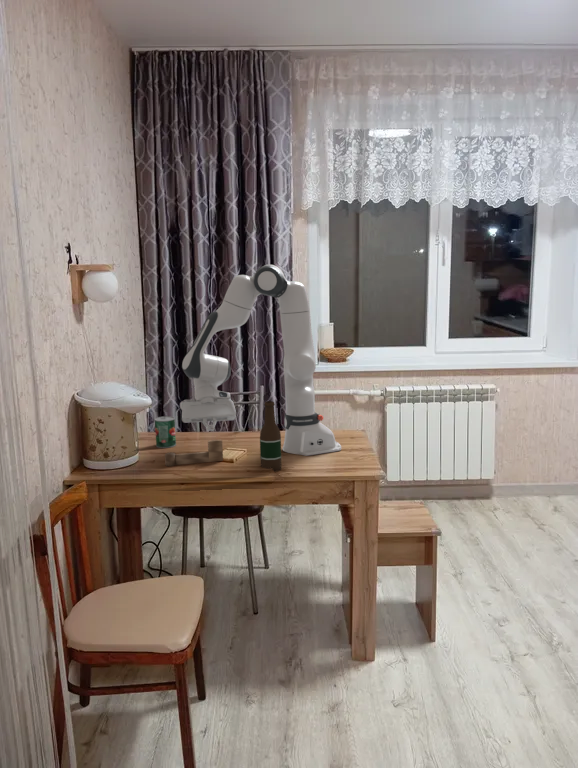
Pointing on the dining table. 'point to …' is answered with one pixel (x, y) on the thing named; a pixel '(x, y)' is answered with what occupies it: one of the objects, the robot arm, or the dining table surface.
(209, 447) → the wooden l-shaped block
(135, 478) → the dining table surface
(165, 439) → the canned tomato
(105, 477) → the dining table surface
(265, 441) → the beer bottle
